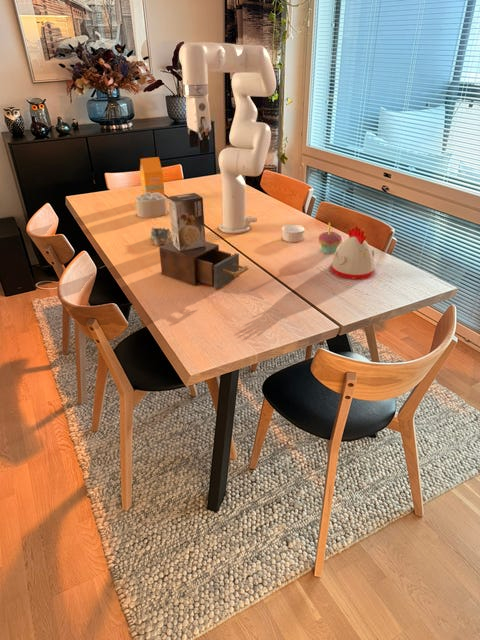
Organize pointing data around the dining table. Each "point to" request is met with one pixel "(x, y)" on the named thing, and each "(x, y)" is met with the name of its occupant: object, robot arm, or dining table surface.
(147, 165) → the orange juice
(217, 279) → the drawer
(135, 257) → the dining table surface
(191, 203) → the coffee box
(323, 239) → the cupcake
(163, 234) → the egg carton
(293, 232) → the ramekin
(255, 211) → the dining table surface
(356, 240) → the kitchen timer
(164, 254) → the cabinet
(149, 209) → the lumpy-topped squat cylinder
